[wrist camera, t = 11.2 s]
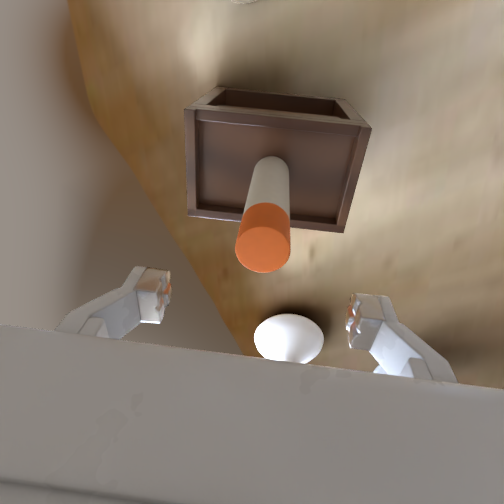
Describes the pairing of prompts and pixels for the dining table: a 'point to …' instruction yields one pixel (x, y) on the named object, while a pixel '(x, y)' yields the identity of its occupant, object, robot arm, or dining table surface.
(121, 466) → the robot arm
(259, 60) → the dining table surface
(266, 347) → the flower in vase
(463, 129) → the dining table surface
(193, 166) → the small wooden shelf
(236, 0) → the pen cup
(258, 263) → the marker
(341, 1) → the dining table surface
